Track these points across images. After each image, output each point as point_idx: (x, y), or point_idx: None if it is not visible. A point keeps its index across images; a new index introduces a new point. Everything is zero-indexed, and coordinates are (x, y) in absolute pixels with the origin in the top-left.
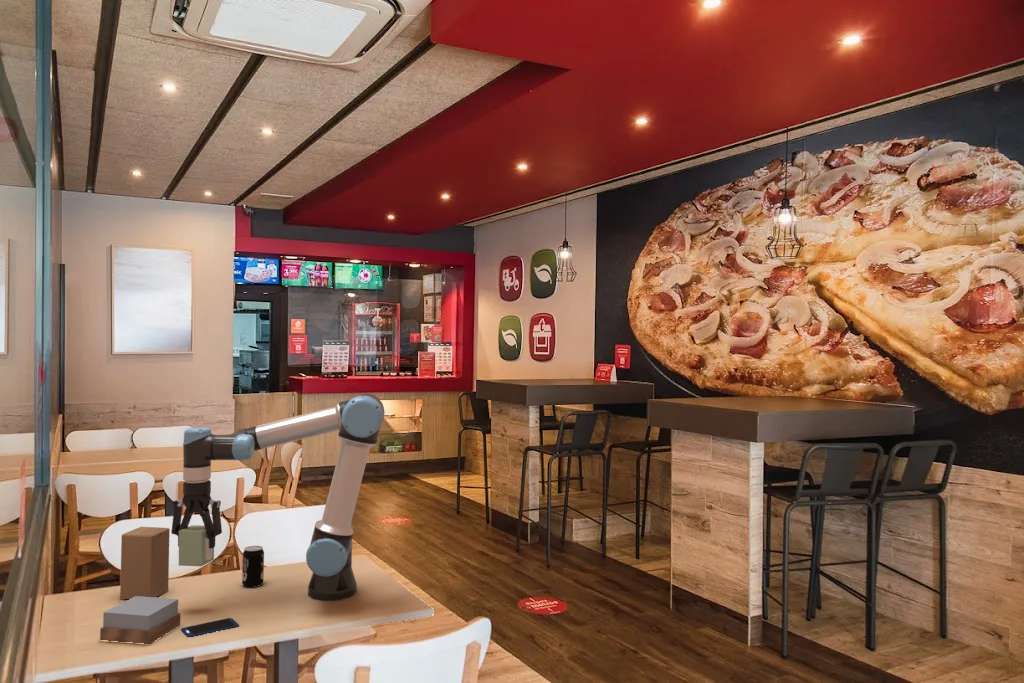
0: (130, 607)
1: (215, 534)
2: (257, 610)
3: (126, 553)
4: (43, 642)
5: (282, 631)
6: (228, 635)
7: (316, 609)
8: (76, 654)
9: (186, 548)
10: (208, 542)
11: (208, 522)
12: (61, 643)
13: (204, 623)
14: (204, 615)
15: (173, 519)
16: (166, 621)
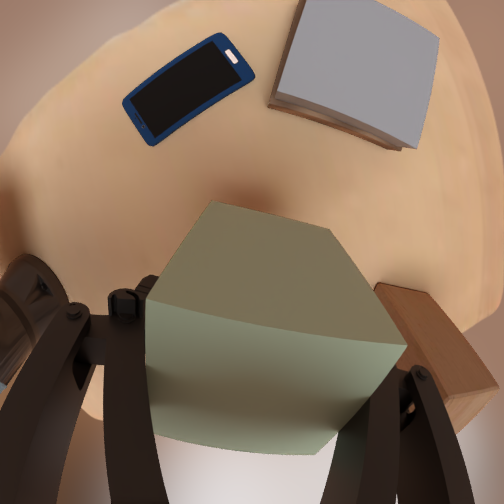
0: (395, 48)
1: (77, 308)
2: (112, 205)
3: (471, 354)
4: (484, 85)
5: (49, 92)
6: (134, 52)
7: (27, 210)
8: (416, 6)
9: (305, 254)
10: None
11: (107, 423)
12: (462, 67)
13: (204, 106)
14: (224, 173)
15: (455, 445)
16: (286, 44)
